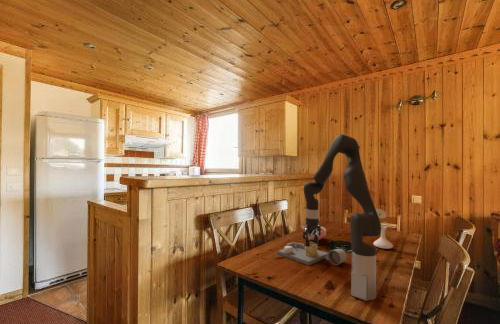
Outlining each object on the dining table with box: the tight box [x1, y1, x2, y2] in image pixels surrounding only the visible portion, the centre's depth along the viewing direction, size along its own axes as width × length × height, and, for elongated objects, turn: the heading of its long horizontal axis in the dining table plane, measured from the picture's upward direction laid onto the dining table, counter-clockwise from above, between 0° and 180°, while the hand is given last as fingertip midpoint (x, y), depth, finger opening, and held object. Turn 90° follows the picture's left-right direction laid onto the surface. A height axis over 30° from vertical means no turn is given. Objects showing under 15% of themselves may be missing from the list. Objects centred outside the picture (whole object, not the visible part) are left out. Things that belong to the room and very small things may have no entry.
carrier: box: [277, 242, 329, 266], centre depth 144 cm, size 20×22×6 cm
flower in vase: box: [372, 208, 394, 250], centre depth 162 cm, size 13×11×25 cm
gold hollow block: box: [305, 241, 318, 257], centre depth 140 cm, size 7×7×6 cm
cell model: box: [302, 224, 327, 241], centre depth 177 cm, size 17×20×11 cm
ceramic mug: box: [325, 248, 348, 266], centre depth 135 cm, size 11×8×8 cm
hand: (312, 244), depth 140 cm, fingers open, 8 cm apart
